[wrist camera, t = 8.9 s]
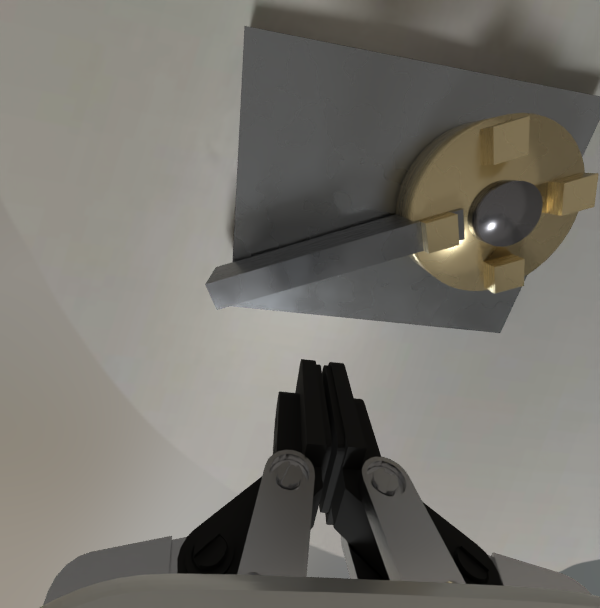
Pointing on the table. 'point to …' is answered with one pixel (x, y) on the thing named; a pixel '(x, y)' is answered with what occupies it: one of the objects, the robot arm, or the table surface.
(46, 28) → the table surface
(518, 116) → the gold disc with handle
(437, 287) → the base plate
